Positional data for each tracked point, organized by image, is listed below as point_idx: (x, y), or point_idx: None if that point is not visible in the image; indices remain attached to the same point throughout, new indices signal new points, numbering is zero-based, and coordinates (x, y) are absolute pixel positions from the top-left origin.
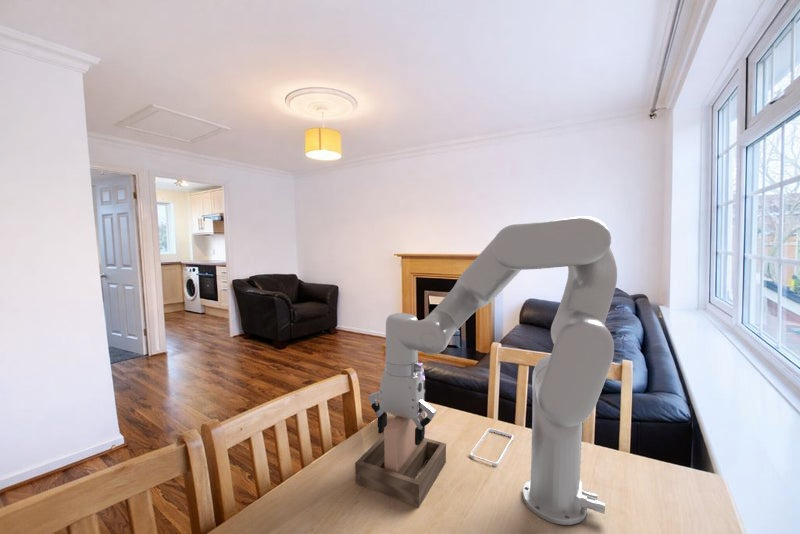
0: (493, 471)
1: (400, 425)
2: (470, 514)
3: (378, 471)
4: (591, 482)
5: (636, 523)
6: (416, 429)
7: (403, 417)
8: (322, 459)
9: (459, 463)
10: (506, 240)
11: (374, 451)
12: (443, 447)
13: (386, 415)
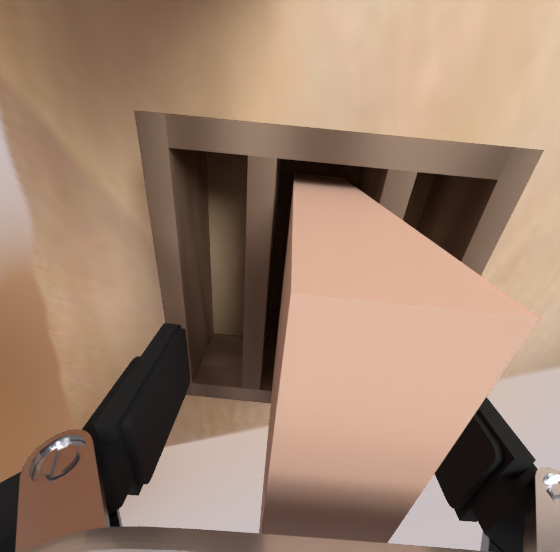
0: None
1: None
2: (523, 347)
3: (266, 401)
4: None
5: None
6: (465, 517)
7: (343, 528)
8: (41, 292)
9: (534, 127)
10: None
11: (189, 311)
12: (519, 197)
13: (138, 423)
